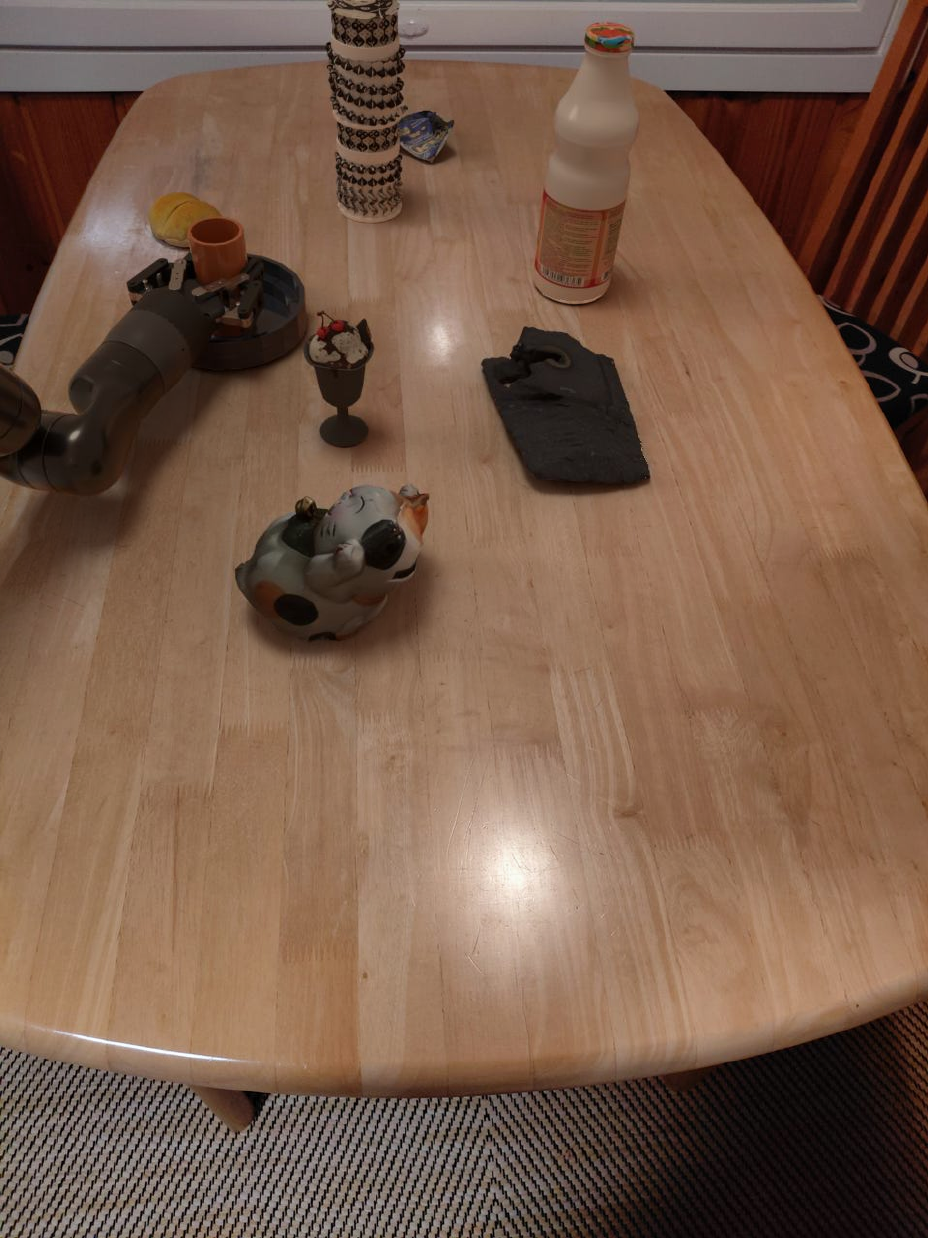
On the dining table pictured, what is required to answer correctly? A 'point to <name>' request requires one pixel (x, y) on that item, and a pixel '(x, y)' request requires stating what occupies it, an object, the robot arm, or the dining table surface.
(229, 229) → the tumbler
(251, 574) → the lucky cat figurine
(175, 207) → the bread roll
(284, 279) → the bowl
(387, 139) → the cream patterned cylinder
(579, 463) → the dark slate chunk
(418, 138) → the snack package
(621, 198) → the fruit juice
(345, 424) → the sundae
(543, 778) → the dining table surface
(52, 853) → the dining table surface
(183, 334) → the robot arm
